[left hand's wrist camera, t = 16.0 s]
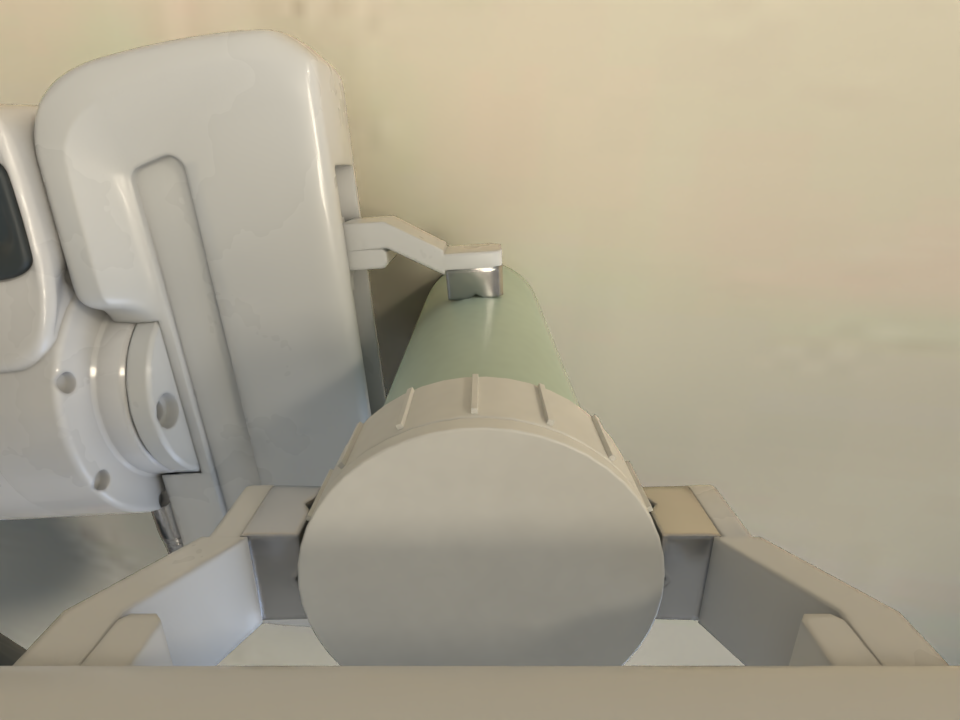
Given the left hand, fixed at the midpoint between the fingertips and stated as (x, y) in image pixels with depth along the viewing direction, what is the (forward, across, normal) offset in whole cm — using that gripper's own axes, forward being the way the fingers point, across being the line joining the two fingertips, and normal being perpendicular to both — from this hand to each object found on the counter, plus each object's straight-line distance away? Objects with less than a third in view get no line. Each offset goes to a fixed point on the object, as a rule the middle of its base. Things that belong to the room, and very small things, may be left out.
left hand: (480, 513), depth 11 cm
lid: (-2, 0, 0) cm, 2 cm away
